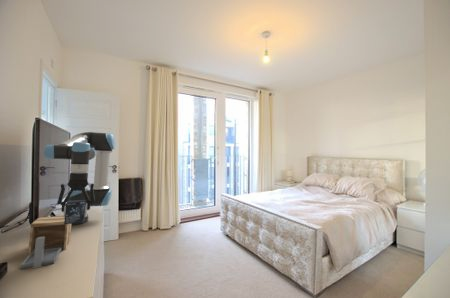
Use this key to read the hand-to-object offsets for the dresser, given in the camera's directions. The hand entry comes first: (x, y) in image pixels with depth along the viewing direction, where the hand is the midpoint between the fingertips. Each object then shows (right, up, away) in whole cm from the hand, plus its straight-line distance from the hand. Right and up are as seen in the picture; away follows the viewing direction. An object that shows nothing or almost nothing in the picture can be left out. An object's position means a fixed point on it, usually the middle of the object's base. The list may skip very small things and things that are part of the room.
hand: (75, 217), depth 100 cm
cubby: (-14, -16, +2) cm, 22 cm away
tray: (-8, -16, -9) cm, 20 cm away
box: (0, -3, -1) cm, 3 cm away
